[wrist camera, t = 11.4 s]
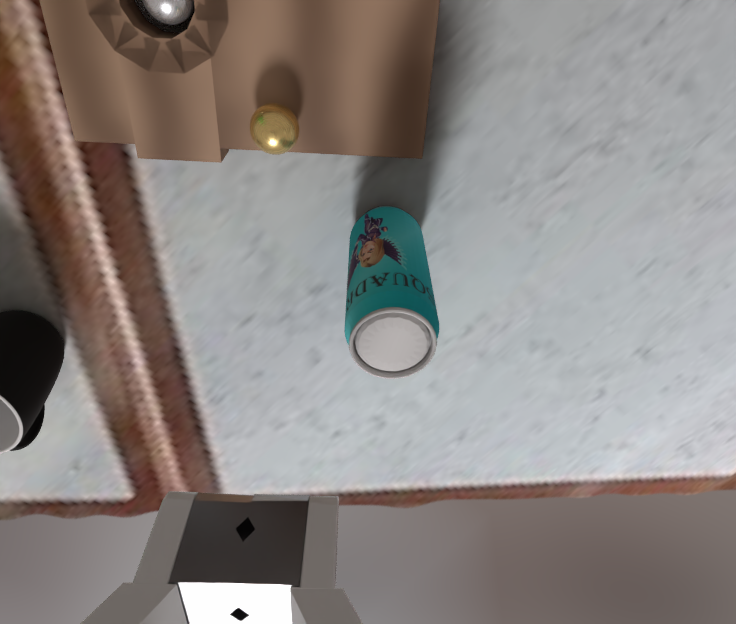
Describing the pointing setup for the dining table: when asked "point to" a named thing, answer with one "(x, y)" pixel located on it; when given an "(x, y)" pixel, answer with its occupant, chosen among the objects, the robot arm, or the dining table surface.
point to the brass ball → (274, 128)
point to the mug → (26, 375)
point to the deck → (247, 74)
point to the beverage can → (389, 295)
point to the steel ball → (170, 10)
